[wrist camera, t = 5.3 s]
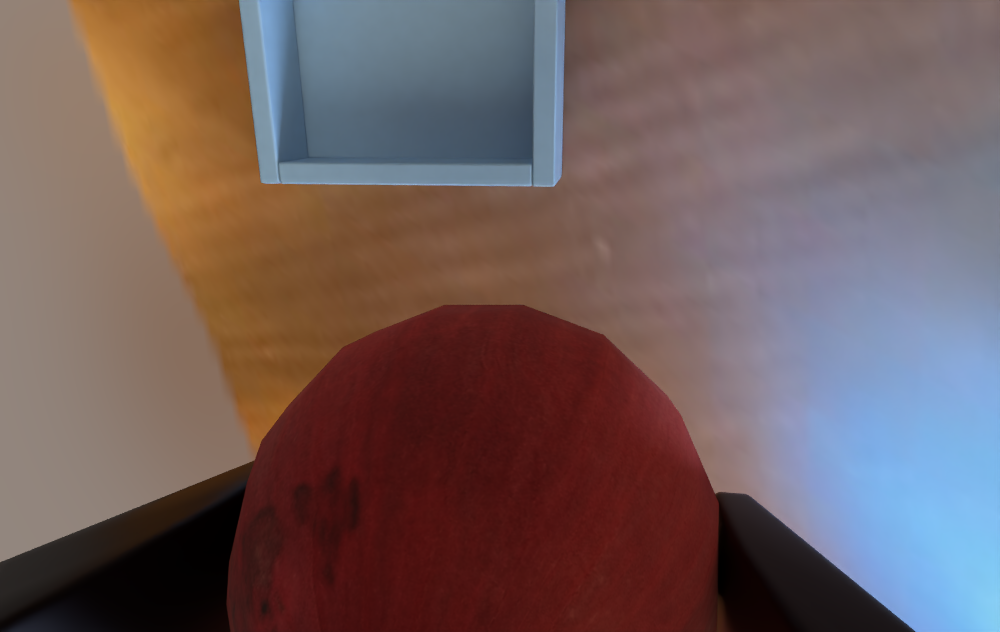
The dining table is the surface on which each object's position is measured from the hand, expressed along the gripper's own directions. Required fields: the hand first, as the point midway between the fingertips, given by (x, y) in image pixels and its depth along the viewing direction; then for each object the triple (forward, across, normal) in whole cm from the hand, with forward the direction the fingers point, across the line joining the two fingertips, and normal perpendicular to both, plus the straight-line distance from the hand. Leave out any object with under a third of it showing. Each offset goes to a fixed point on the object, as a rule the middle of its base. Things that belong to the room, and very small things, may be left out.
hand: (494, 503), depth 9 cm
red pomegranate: (+3, 0, 0) cm, 3 cm away
